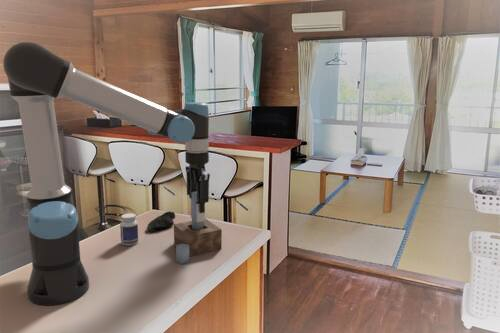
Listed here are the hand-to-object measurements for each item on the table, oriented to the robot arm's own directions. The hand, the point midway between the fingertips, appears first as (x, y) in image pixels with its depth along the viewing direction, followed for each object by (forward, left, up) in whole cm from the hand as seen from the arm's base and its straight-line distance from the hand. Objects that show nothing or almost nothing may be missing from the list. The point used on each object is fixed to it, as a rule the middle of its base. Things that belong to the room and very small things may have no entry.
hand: (197, 218), depth 143 cm
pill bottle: (-19, +14, -10) cm, 26 cm away
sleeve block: (0, 0, -10) cm, 10 cm away
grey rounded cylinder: (-9, -8, -10) cm, 16 cm away
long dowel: (0, 0, -7) cm, 7 cm away
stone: (-5, +22, -10) cm, 25 cm away
